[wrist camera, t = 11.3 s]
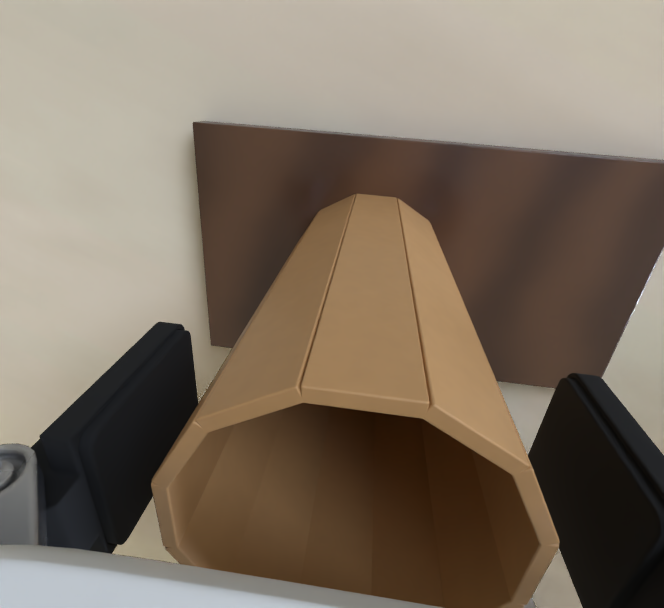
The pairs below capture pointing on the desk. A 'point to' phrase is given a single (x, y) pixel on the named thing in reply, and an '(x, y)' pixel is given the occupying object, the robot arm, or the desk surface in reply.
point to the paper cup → (360, 432)
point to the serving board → (446, 232)
